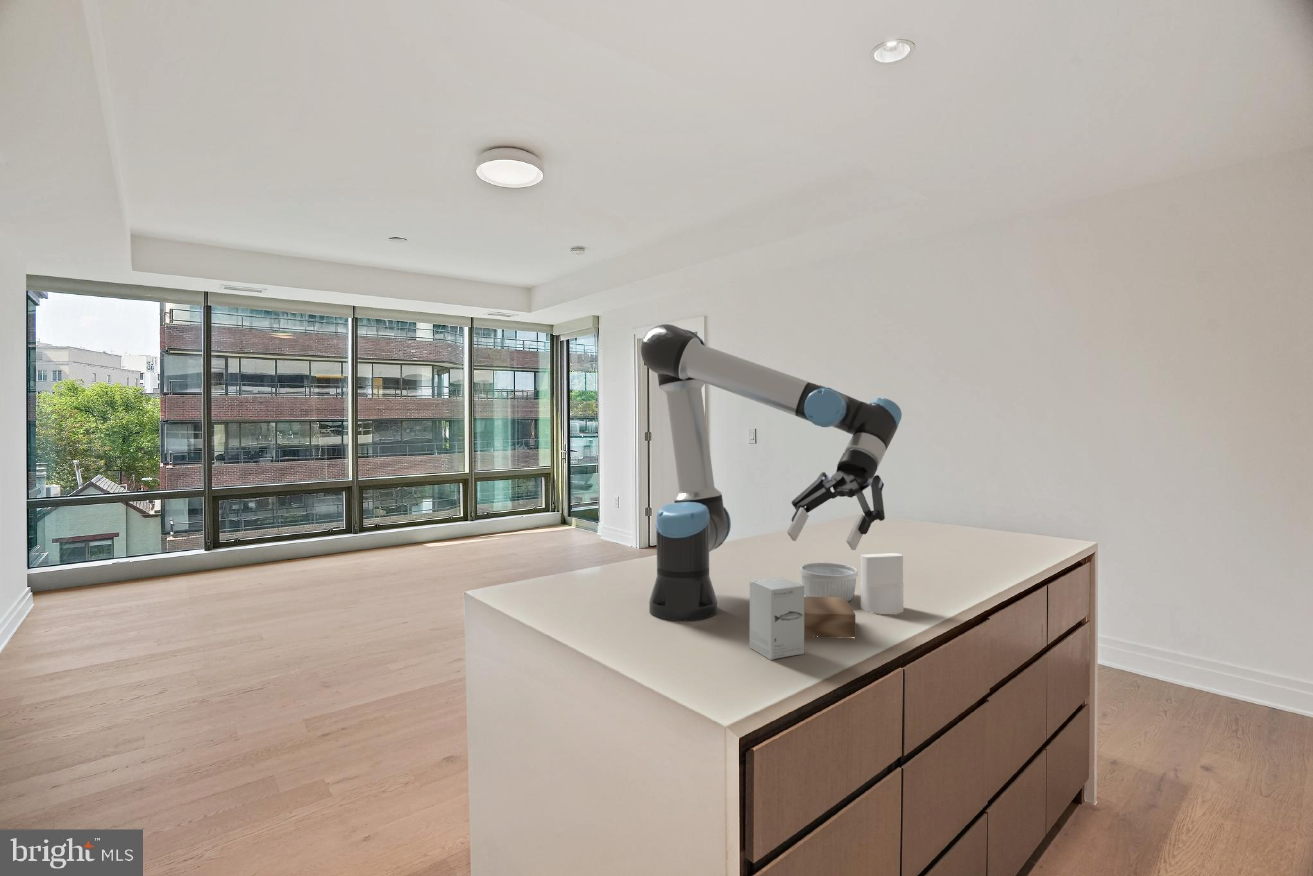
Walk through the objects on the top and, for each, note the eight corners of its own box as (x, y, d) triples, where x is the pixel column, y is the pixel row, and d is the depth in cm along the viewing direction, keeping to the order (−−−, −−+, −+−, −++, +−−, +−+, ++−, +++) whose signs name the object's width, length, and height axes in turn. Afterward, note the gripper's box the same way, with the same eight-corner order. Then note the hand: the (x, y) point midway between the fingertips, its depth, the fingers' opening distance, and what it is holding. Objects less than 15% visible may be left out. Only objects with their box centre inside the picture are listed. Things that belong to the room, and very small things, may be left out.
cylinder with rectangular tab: (872, 616, 138) (872, 560, 138) (853, 604, 147) (853, 552, 147) (911, 613, 140) (911, 558, 139) (890, 602, 149) (890, 550, 148)
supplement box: (771, 661, 113) (770, 589, 112) (748, 647, 120) (748, 580, 119) (805, 654, 116) (805, 585, 115) (781, 642, 123) (781, 576, 122)
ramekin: (864, 605, 146) (864, 574, 146) (806, 605, 147) (806, 575, 147) (848, 590, 160) (848, 562, 159) (795, 590, 160) (795, 562, 160)
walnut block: (792, 638, 125) (792, 613, 125) (786, 619, 137) (786, 596, 137) (855, 640, 124) (855, 614, 124) (844, 620, 136) (844, 597, 136)
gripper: (924, 474, 127) (886, 562, 118) (817, 469, 146) (777, 544, 137) (911, 449, 124) (870, 537, 114) (803, 446, 143) (760, 522, 133)
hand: (819, 541), depth 125 cm, fingers open, 13 cm apart
